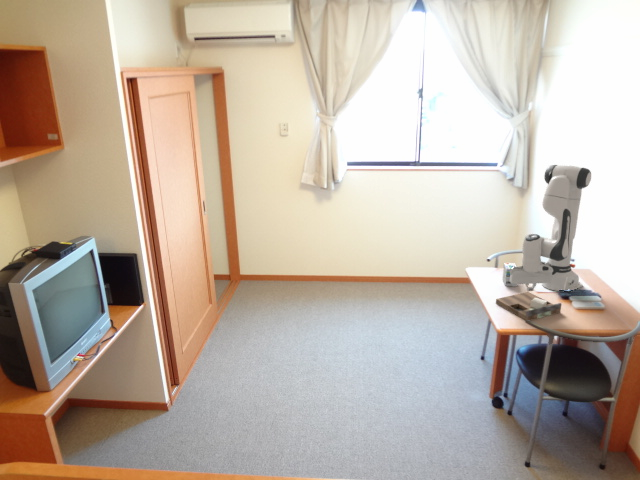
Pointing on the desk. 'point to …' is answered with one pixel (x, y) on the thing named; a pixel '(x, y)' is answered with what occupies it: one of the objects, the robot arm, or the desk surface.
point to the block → (538, 303)
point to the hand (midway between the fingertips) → (530, 290)
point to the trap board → (527, 306)
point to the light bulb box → (508, 274)
